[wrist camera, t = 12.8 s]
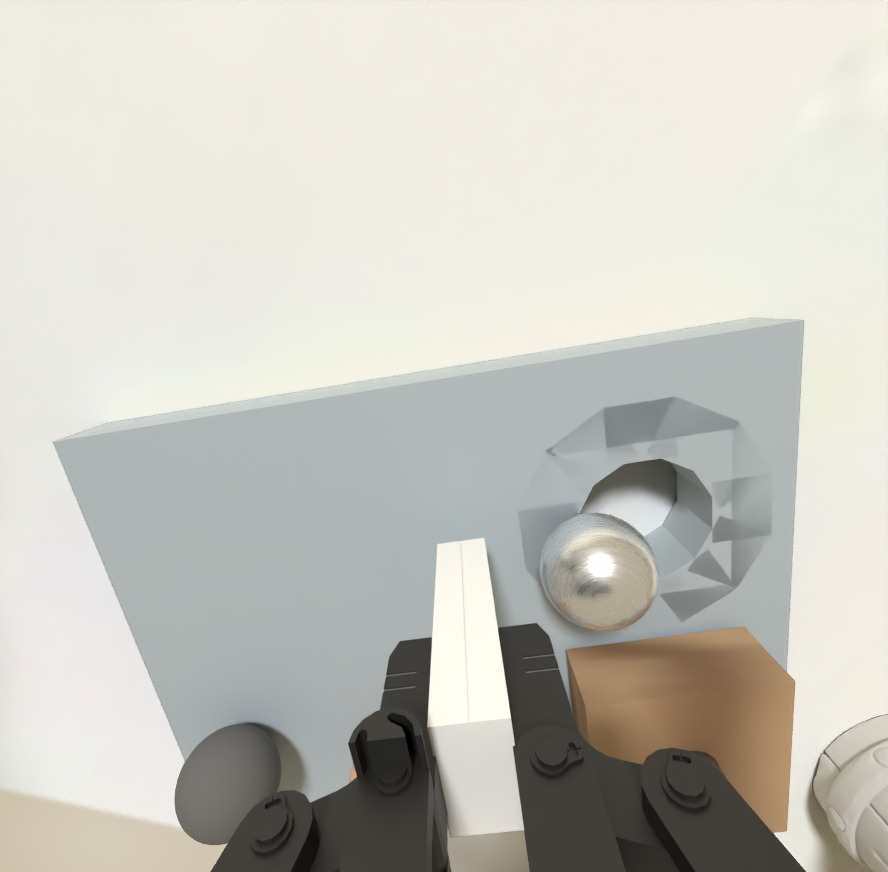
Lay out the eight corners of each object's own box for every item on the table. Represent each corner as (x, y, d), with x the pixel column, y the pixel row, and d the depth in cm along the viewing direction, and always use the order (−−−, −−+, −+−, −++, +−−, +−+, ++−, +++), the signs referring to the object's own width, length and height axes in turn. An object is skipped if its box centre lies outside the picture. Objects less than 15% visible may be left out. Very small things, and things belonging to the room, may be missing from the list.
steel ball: (543, 586, 17) (547, 659, 13) (533, 499, 16) (534, 553, 12) (646, 583, 16) (676, 658, 13) (640, 490, 15) (673, 545, 12)
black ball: (220, 774, 19) (171, 876, 16) (194, 708, 18) (136, 800, 15) (303, 764, 19) (271, 865, 15) (281, 696, 18) (242, 788, 14)
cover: (579, 780, 18) (611, 893, 15) (565, 649, 17) (597, 742, 13) (741, 761, 18) (813, 872, 15) (744, 626, 16) (826, 715, 13)
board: (240, 777, 22) (215, 834, 20) (107, 422, 17) (52, 441, 15) (743, 716, 21) (781, 769, 19) (751, 317, 16) (804, 320, 14)
